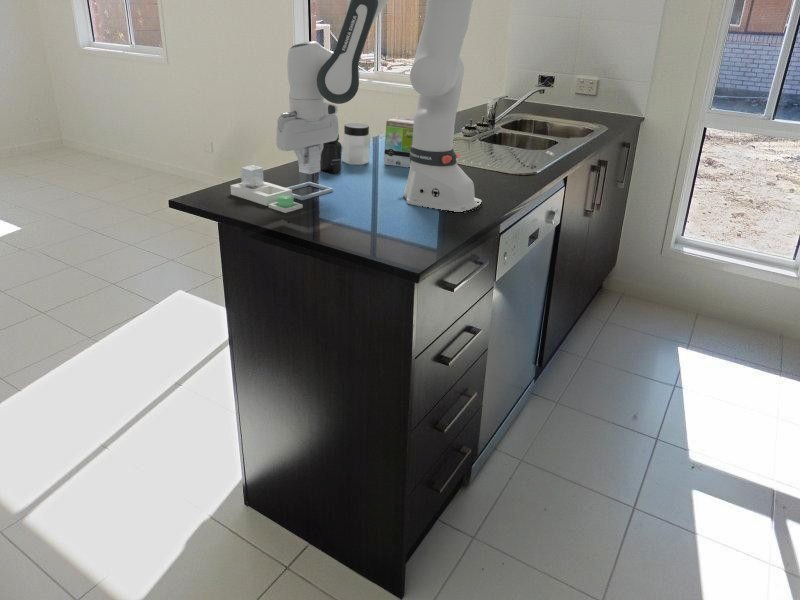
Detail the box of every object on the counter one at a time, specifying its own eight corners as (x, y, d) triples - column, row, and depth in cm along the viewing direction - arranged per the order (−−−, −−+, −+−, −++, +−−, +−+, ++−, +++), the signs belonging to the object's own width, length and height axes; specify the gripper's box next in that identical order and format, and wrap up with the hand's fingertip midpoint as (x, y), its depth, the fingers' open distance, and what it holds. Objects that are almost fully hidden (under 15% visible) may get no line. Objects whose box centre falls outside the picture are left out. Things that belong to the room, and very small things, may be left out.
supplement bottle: (337, 175, 193) (338, 136, 188) (316, 173, 194) (316, 134, 189) (343, 170, 199) (344, 132, 194) (323, 168, 200) (323, 130, 195)
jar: (368, 159, 214) (369, 123, 209) (369, 165, 207) (371, 128, 202) (342, 158, 213) (342, 122, 208) (342, 164, 206) (343, 127, 201)
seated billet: (263, 193, 168) (263, 167, 165) (252, 196, 165) (251, 170, 162) (253, 190, 170) (252, 164, 167) (241, 193, 167) (240, 167, 164)
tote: (333, 195, 174) (333, 188, 173) (302, 204, 165) (302, 197, 164) (309, 188, 179) (309, 181, 178) (277, 197, 170) (277, 189, 169)
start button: (297, 209, 159) (296, 198, 158) (285, 212, 156) (285, 201, 155) (285, 205, 161) (285, 194, 160) (274, 209, 158) (274, 197, 157)
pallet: (292, 202, 166) (291, 189, 164) (266, 210, 159) (266, 196, 158) (257, 192, 173) (256, 179, 171) (231, 198, 166) (230, 185, 165)
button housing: (302, 212, 160) (302, 204, 159) (285, 217, 155) (285, 209, 154) (285, 206, 163) (285, 199, 162) (268, 211, 158) (268, 204, 157)
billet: (320, 171, 170) (319, 145, 167) (310, 174, 167) (308, 147, 164) (309, 169, 172) (308, 143, 169) (298, 171, 169) (297, 145, 166)
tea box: (383, 165, 208) (385, 120, 202) (390, 159, 217) (393, 115, 211) (427, 170, 205) (431, 124, 199) (433, 164, 214) (436, 119, 208)
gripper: (286, 115, 153) (290, 171, 159) (341, 106, 168) (343, 157, 174) (268, 112, 156) (272, 167, 162) (324, 103, 171) (326, 154, 177)
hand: (309, 162), depth 168 cm, fingers closed on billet, 4 cm apart
